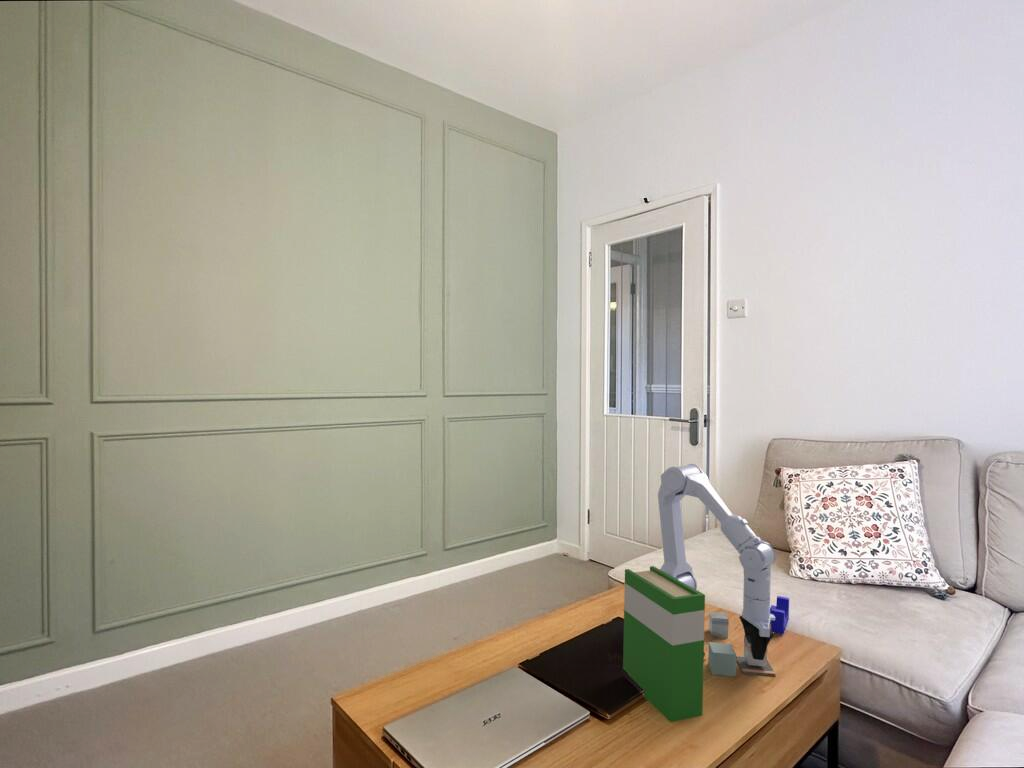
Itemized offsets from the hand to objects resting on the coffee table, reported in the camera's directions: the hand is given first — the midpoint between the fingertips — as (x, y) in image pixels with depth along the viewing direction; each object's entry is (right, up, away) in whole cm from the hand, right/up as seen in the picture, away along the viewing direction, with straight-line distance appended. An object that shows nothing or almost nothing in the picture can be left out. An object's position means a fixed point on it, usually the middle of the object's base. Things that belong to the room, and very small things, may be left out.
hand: (755, 654), depth 132 cm
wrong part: (-3, -3, +17) cm, 17 cm away
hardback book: (-25, -3, -12) cm, 28 cm away
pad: (0, -3, 0) cm, 3 cm away
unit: (-8, -3, -2) cm, 9 cm away
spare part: (0, -2, 0) cm, 2 cm away
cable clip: (+16, -3, +23) cm, 28 cm away
